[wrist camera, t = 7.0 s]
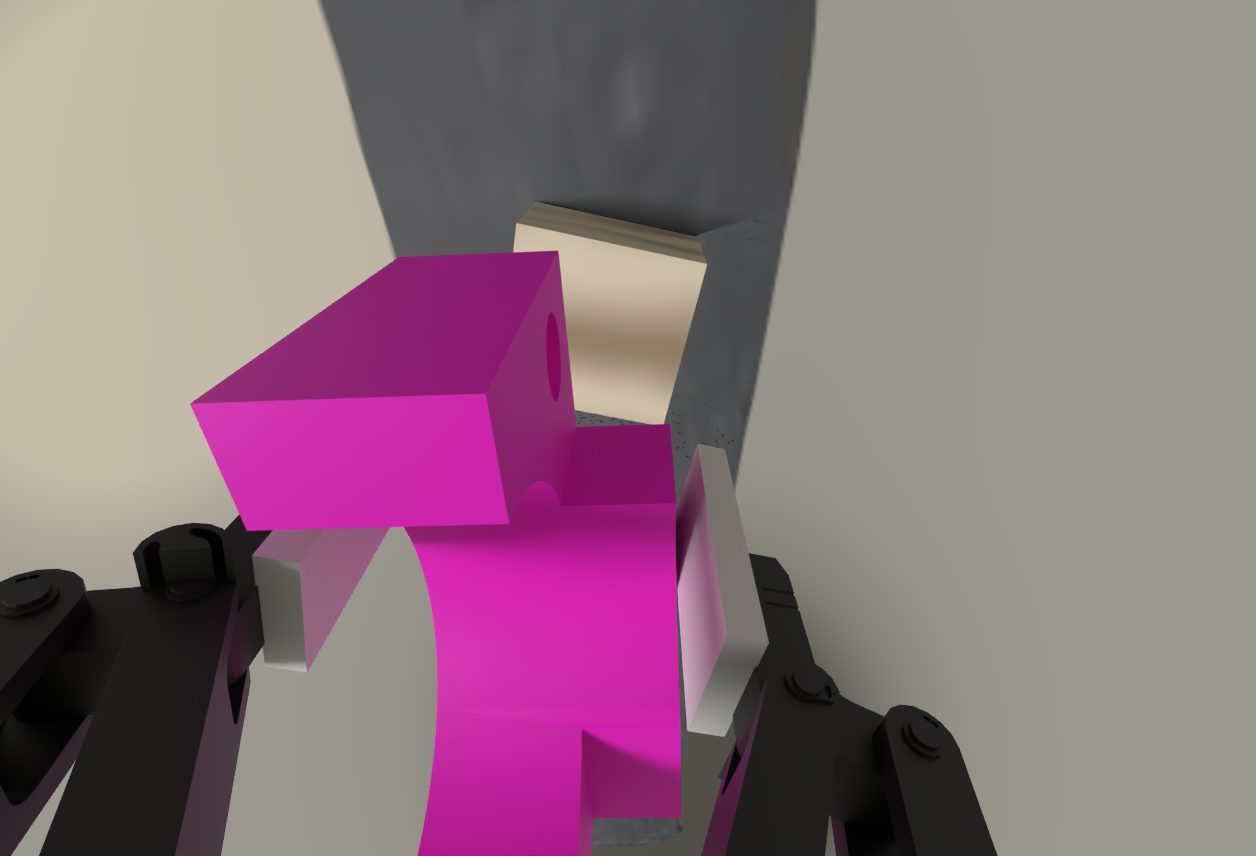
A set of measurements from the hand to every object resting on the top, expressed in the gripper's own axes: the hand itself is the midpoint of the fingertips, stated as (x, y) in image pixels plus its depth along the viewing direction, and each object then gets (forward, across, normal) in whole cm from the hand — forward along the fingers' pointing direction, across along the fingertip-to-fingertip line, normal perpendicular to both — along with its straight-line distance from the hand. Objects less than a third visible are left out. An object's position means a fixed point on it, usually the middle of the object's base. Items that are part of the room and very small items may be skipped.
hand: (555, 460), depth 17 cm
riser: (+17, 0, -1) cm, 17 cm away
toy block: (+1, 0, -2) cm, 2 cm away
